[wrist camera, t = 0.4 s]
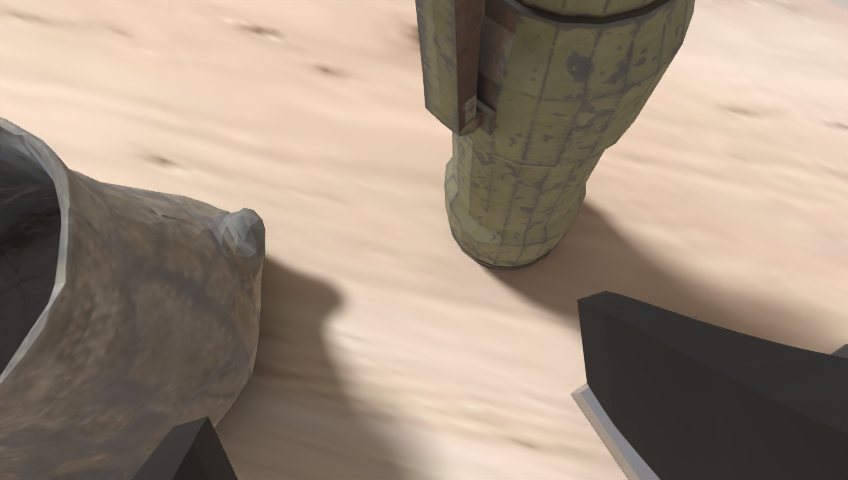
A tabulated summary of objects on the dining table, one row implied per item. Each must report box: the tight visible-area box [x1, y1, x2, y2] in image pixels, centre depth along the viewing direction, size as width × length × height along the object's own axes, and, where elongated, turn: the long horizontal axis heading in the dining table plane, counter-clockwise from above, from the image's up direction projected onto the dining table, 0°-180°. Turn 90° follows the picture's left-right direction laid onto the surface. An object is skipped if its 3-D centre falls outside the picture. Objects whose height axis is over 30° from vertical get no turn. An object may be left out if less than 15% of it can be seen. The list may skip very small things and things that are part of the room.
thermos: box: [415, 0, 695, 270], centre depth 24 cm, size 9×12×35 cm
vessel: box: [0, 117, 265, 480], centre depth 30 cm, size 22×22×20 cm
